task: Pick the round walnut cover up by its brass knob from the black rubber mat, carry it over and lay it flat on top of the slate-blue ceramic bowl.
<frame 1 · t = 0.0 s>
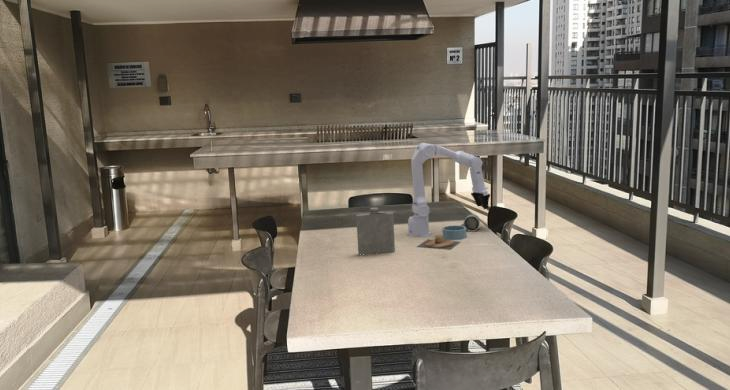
hand: (482, 207, 292), 11 cm above the table, tool pointing down, fingers open, 7 cm apart
walnut cover: (438, 244, 267), on the table, touching rubber mat
slate-blue bowl: (454, 237, 279), on the table
ceramic mug: (469, 230, 293), on the table
hip flask: (376, 253, 260), on the table
rubber mat: (438, 245, 267), on the table
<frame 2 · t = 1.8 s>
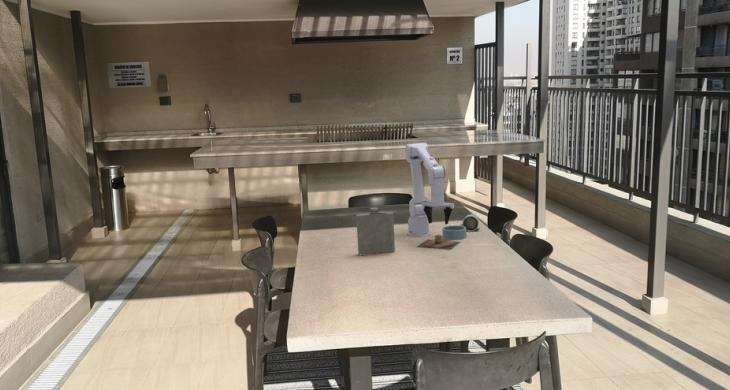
hand: (438, 223, 265), 10 cm above the table, tool pointing down, fingers open, 7 cm apart
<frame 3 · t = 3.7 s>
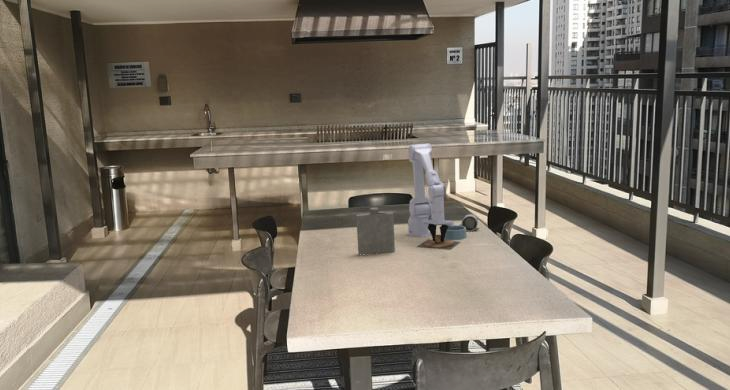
hand: (438, 241, 267), 2 cm above the table, tool pointing down, fingers closed on walnut cover, 3 cm apart
walnut cover: (438, 244, 267), on the table, touching gripper, rubber mat
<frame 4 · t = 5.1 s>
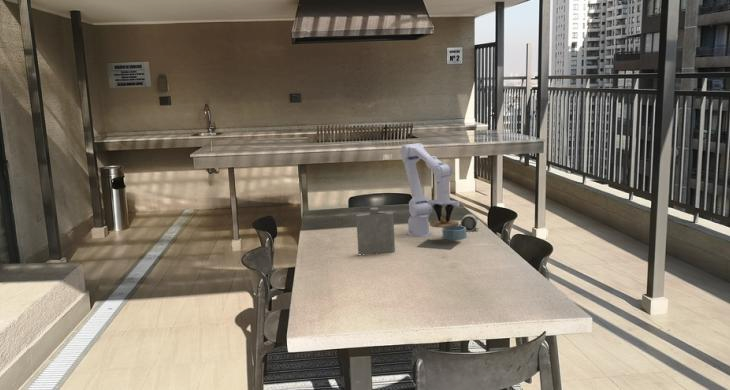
hand: (444, 221, 270), 10 cm above the table, tool pointing down, fingers closed on walnut cover, 3 cm apart
walnut cover: (444, 224, 270), point 8 cm above the table, touching gripper
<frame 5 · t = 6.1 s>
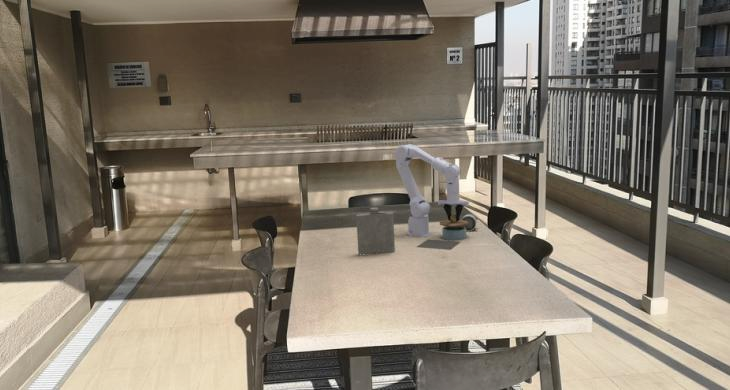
hand: (453, 220, 278), 8 cm above the table, tool pointing down, fingers closed on walnut cover, 3 cm apart
walnut cover: (453, 224, 278), point 7 cm above the table, touching gripper
when the fingers open (7 cm above the table, at t = 6.7 s): walnut cover stays where it is, resting on slate-blue bowl.
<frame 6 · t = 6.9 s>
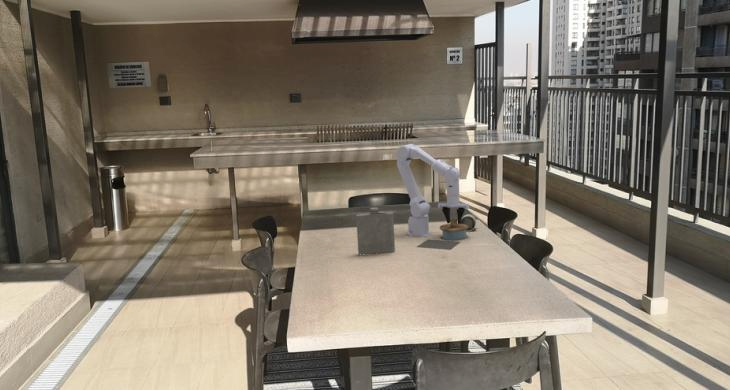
hand: (453, 223, 278), 7 cm above the table, tool pointing down, fingers open, 5 cm apart
walnut cover: (453, 228, 278), point 4 cm above the table, touching slate-blue bowl
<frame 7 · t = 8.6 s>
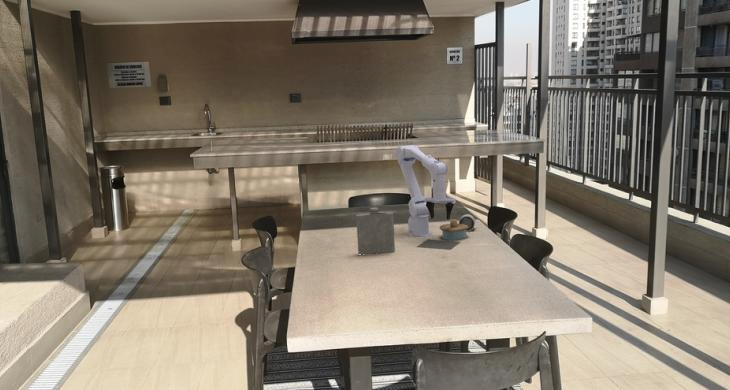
hand: (440, 218, 273), 10 cm above the table, tool pointing down, fingers open, 7 cm apart
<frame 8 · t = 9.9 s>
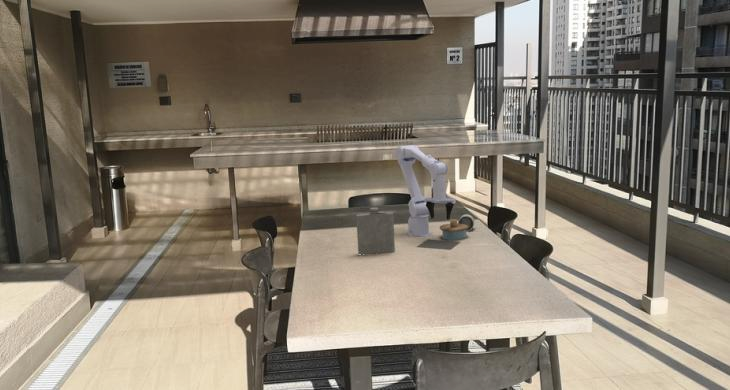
hand: (440, 218, 273), 10 cm above the table, tool pointing down, fingers open, 7 cm apart
at the end: walnut cover 0.3 cm off-centre on the slate-blue bowl, point 4.5 cm above the slate-blue bowl's base; walnut cover tilted 0°; the gripper is holding nothing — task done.
